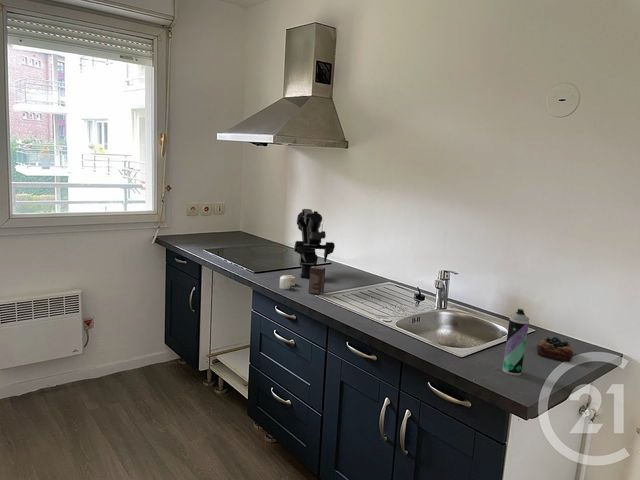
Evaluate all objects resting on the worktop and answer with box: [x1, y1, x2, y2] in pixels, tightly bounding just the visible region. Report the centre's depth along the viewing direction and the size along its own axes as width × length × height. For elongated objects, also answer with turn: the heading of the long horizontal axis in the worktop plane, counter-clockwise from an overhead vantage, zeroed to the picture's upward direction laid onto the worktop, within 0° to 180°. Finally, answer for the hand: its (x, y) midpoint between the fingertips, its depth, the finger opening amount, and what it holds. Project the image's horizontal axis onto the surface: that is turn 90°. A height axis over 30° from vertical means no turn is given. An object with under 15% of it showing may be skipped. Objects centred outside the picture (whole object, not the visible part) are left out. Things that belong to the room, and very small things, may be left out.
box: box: [308, 265, 326, 296], centre depth 219 cm, size 6×4×12 cm
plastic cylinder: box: [279, 275, 291, 290], centre depth 224 cm, size 5×5×5 cm
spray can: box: [502, 308, 530, 376], centre depth 147 cm, size 6×6×20 cm
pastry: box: [536, 336, 573, 363], centre depth 165 cm, size 11×12×6 cm
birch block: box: [281, 274, 296, 287], centre depth 231 cm, size 5×5×4 cm
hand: (315, 262), depth 224 cm, fingers open, 9 cm apart
